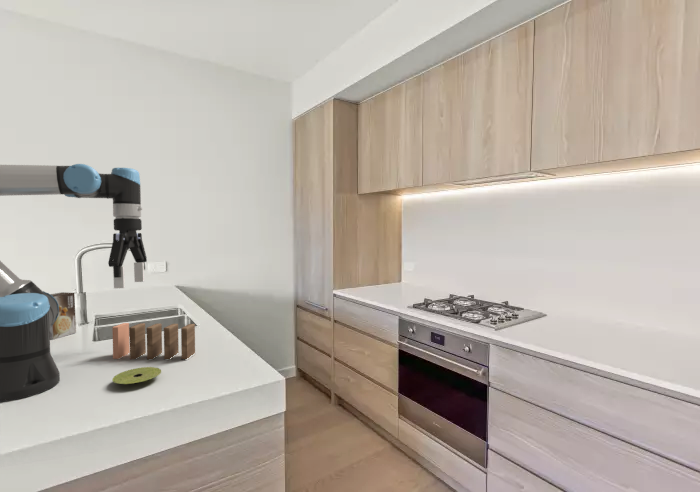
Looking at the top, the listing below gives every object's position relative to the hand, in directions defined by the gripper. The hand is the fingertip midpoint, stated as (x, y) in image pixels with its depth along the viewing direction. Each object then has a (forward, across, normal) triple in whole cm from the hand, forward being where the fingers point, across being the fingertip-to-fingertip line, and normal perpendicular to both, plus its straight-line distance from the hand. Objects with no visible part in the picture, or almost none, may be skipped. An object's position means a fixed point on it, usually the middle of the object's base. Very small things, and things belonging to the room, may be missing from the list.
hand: (130, 284), depth 115 cm
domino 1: (+23, 0, +3) cm, 23 cm away
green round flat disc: (+23, -22, -11) cm, 33 cm away
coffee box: (+23, +28, +38) cm, 53 cm away
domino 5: (+23, -4, -18) cm, 30 cm away
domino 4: (+23, -3, -13) cm, 27 cm away
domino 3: (+23, -2, -7) cm, 24 cm away
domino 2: (+23, -1, -2) cm, 23 cm away
